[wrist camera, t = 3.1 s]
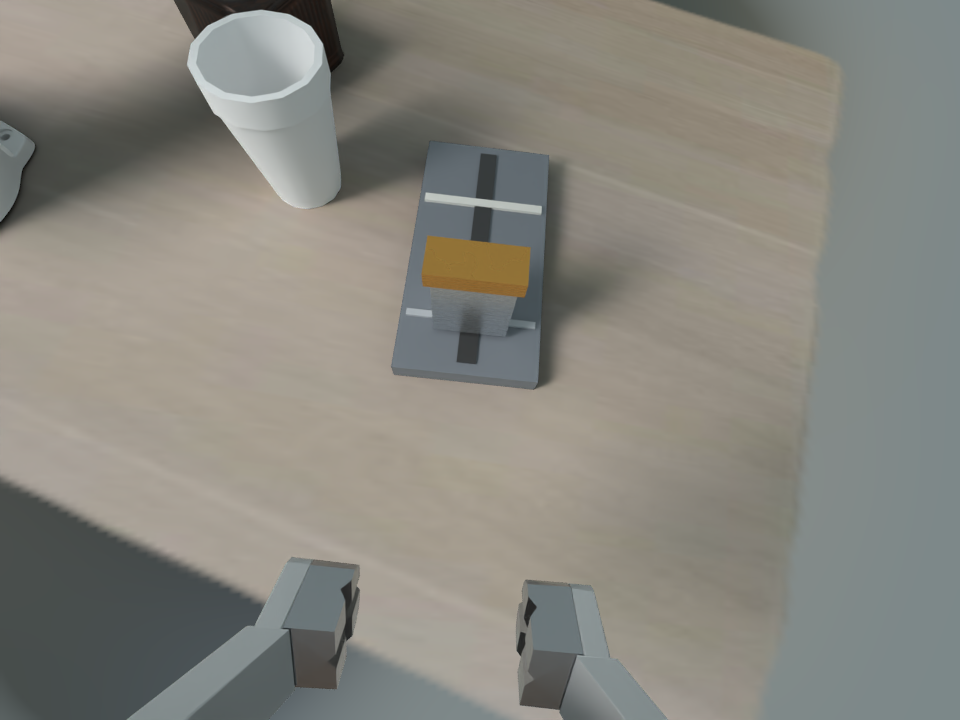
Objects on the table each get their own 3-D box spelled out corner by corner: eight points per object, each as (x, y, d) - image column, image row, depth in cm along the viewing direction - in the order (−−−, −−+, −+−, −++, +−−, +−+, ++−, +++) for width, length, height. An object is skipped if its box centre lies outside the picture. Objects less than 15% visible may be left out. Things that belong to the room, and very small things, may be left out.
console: (533, 389, 39) (538, 381, 37) (393, 374, 38) (390, 365, 36) (545, 169, 47) (549, 152, 45) (430, 156, 47) (429, 138, 45)
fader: (511, 337, 38) (528, 286, 29) (427, 328, 37) (421, 274, 29) (513, 305, 39) (530, 247, 31) (432, 296, 38) (427, 235, 30)
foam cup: (356, 221, 43) (320, 102, 31) (256, 224, 43) (180, 104, 30) (356, 144, 47) (324, 10, 35) (264, 146, 46) (196, 9, 34)
